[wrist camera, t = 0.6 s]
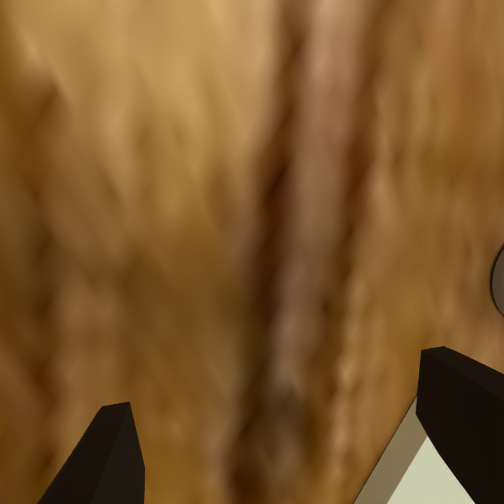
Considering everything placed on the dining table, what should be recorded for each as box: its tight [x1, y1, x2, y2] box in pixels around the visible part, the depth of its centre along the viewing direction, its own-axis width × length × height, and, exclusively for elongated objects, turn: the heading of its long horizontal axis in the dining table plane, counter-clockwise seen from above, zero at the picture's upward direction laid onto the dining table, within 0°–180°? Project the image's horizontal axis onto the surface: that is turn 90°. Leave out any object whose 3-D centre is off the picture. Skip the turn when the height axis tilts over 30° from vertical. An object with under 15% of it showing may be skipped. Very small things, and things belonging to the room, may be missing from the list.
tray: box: [354, 397, 475, 504], centre depth 24 cm, size 12×12×2 cm
